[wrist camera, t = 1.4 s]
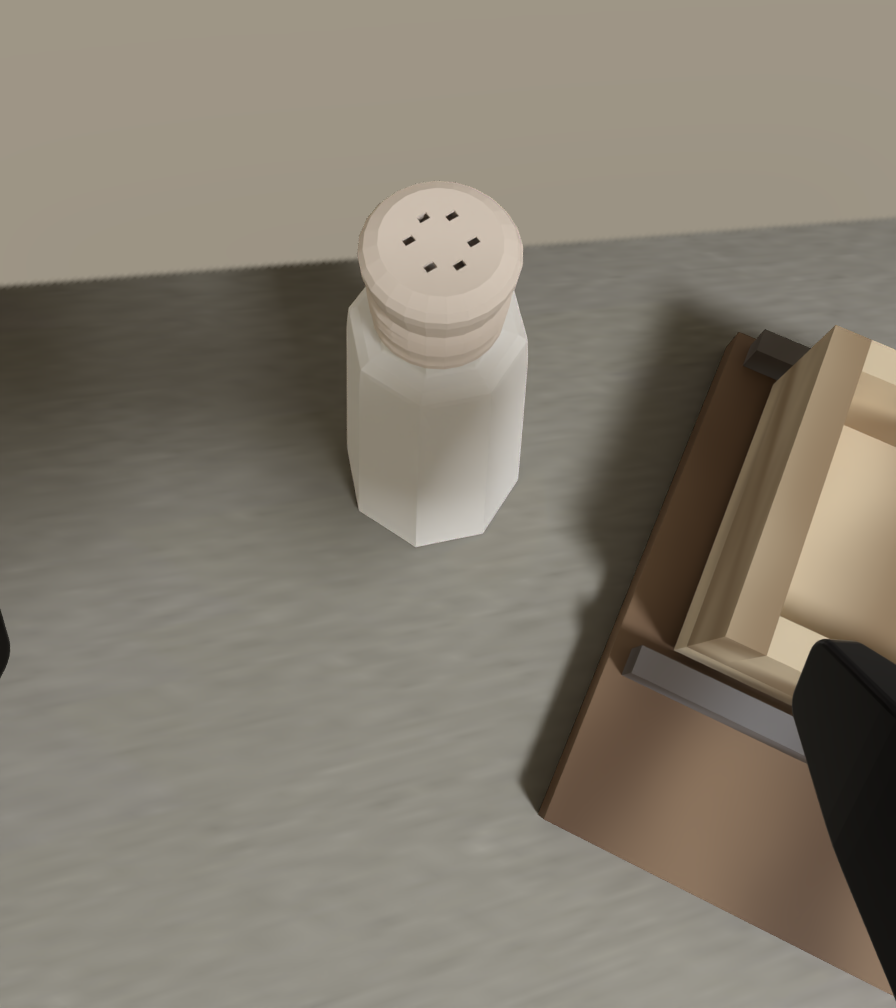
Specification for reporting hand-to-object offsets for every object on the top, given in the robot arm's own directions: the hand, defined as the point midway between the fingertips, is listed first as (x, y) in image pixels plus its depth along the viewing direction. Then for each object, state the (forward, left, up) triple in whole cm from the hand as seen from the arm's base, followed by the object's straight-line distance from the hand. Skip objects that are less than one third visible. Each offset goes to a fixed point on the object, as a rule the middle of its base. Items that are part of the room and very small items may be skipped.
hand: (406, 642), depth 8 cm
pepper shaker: (+5, -4, -13) cm, 15 cm away
